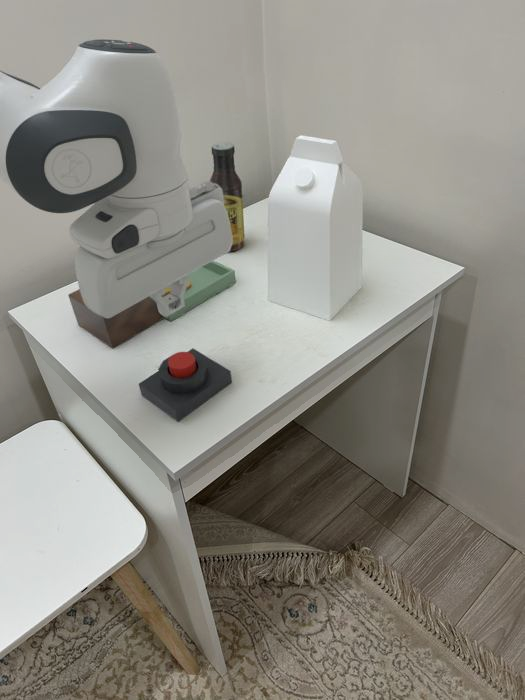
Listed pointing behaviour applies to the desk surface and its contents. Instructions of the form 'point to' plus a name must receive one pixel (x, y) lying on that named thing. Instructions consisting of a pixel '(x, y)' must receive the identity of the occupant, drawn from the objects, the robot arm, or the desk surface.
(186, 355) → the bell button
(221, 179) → the sauce bottle
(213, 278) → the tray
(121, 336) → the stand
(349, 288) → the milk
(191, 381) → the grey button base
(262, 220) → the desk surface
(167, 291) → the tan wooden spoon shape
